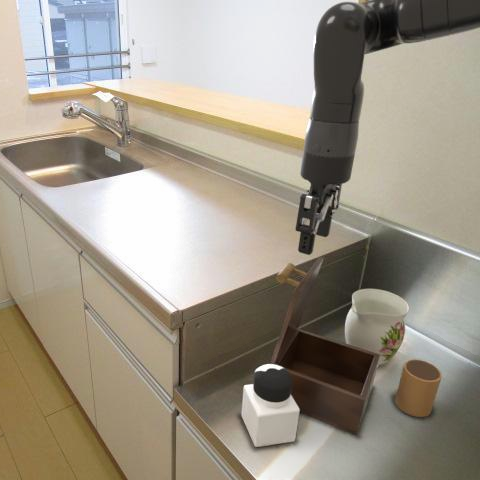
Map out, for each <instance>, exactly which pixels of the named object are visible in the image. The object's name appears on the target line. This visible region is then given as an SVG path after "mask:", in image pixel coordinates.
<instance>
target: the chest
mask: <svg viewBox="0 0 480 480" xmlns="http://www.w3.org/2000/svg"><path fill="white" fill-rule="evenodd" d="M379 357H380V354H377V353H373V352H370V351H367V350H364V349H361V348H358V347H355V346H351V345H348V344H347V343H345V342H341V341H338V340H336V339H332V338H329V337H325V336H323V335H320V334H316V333H314V332H310V331H307V330H303V329H301V328H299V327H298V328H297V330H296V331H295V333H294V335H293V336H292V338H291V339H290V341H289V342H288V344H287V346H286V347H285V349H284V350H283V352H282V353H281V355H280V357H279V358H278V360H277V361H276V363H275V364H274V365H278V366H281V367H283V368H285V369H286V370H287V371H288V372H289V373H290V374H291V376H292V379H293V381H292V389H291V396H292V397H293V399H294V401H295V402H296V404H297V406H298V407H299V409H300V414H303V415H306V416H308V417H311V418H313V419H314V420H317V421H320V422H323V423H326V424H327V425H330V426H332V427H335V428H337V429H340V430H342V431H344V432H347V433H350V434H352V435H354V436H358V434H359V431H360V428H361V425H362V421H363V418H364V415H365V412H366V408H367V405H368V402H369V400H370V397H371V393H372V390H373V388H374V382H375V378H376V374H377V369H378V366H379V365H378V361H379Z"/></svg>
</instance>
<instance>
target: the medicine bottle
mask: <svg viewBox="0 0 480 480" xmlns="http://www.w3.org/2000/svg"><path fill="white" fill-rule="evenodd" d="M253 375H254V376H253V383H251V384H245V385H244V386H243V389H242V390H243V391H242V404H241V418H242V421H243V423H244V425H245V427H246V430H247V432H248V434H249V437H250V439H251V441H252V443H253V446H254V447H255V448H261V447H267V446H273V445H280V444H286V443H292V442H296V440H297V439H296V438H297V432H298V427H299V426H298V425H299V420H300V414H301V412H300V409H299V407H298V406H297V404H296V402H295V401H294V399H293V397H292V396H291V389H292V381H293V379H292V376H291V374H290V373H289V372H288V371H287V370H286V369H285V368H283V367H281V366H278V365H274V364H272V363H267V364H262V365H261V366H259V367H257V368H256V369H255V370H254V373H253Z"/></svg>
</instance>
